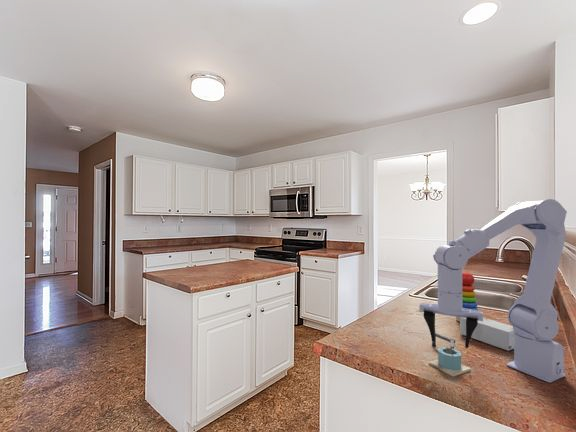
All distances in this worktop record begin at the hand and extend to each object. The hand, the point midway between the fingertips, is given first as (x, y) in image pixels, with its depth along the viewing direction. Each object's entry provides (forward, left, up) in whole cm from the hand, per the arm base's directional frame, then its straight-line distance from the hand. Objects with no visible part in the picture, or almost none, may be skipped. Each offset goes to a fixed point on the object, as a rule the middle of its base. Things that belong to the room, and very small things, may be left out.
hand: (449, 343), depth 78 cm
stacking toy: (+20, -39, -7) cm, 45 cm away
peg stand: (0, 0, -6) cm, 6 cm away
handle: (+7, -6, -6) cm, 11 cm away
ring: (0, 0, -6) cm, 6 cm away
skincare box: (+14, -27, -3) cm, 31 cm away
